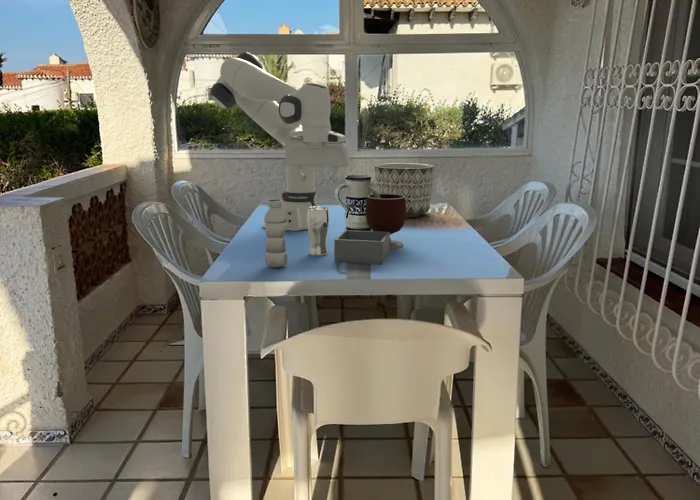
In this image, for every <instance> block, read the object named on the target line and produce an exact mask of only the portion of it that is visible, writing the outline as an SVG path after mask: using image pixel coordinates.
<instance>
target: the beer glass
mask: <svg viewBox="0 0 700 500" xmlns="http://www.w3.org/2000/svg"><path fill="white" fill-rule="evenodd" d="M329 214H330V213H329V207H327V206H316V205H315V207H309V208H308V214H307V225H308V229H307V231H308V237H309V243H310V246H309V250H308V251H309V252H308V254H309V255H310V256H317V257H318V256H319V257H320V256H326V255H328V254H329V253H328V246H327V241H328V239H327V238H328V235H329V229H330V228H329V226H330V217H329V216H330V215H329Z"/></svg>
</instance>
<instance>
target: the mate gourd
mask: <svg viewBox="0 0 700 500" xmlns="http://www.w3.org/2000/svg"><path fill="white" fill-rule="evenodd" d="M366 188H368V189H369V191H370V192H371V194H367V198H366V202H365V220H366V225H368V227H369V228H370V231H378V232H390V236H392V235H393V234H395V233H397V232H400V231H401V230H402V228H404V226H405V223H406V219H407V218H406V201H405V196H404V195H399V194H379V193H378V192H377V191H376V188H374V187H372V186H370V185H367V187H366ZM403 247H404V243H403V242H402V241H399V240H396V239H395V240H393V239H391V238H390V244H389V250H396V249H400V248H403Z"/></svg>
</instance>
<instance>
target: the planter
mask: <svg viewBox="0 0 700 500" xmlns="http://www.w3.org/2000/svg"><path fill="white" fill-rule="evenodd" d="M434 168H435V166H434V165H432V164H428V163H427V164H426V163H416V162H415V163H411V162H409V163H407V162H394V163H393V162H390V163H388V162H387V163H379V164H375V165H374V180H375V181H374V182H375V190H376V191H377V192H378V193H379V194H399V195H404V196H405V201H406V219H407V218H416V217H419V216H420V215H421V214H426V213H428V212H429V211H431V199H432V190H433V178H434V170H435V169H434Z"/></svg>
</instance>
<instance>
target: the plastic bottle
mask: <svg viewBox="0 0 700 500" xmlns="http://www.w3.org/2000/svg"><path fill="white" fill-rule="evenodd" d="M281 202H282V199H276V198H274V199H269V200H268V205H267V207H268V210H267V211H266V213H265V215H264V216H263V217H264V218H263V221H264V223H265V228H264V229H265V233H266V235H265V236H266V248H265V249H266V250H265V254H264V260H265V265H266V267H269V268H272V269H273V268H275V269H278V268H282V267H285V266H286V265H287V264H288V258H289V257H288V253H287V245H286V231H287V230H286V221H287V217H286V214H285V213H284V212H283V210H282V209H281V207H282V205H281Z"/></svg>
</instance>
